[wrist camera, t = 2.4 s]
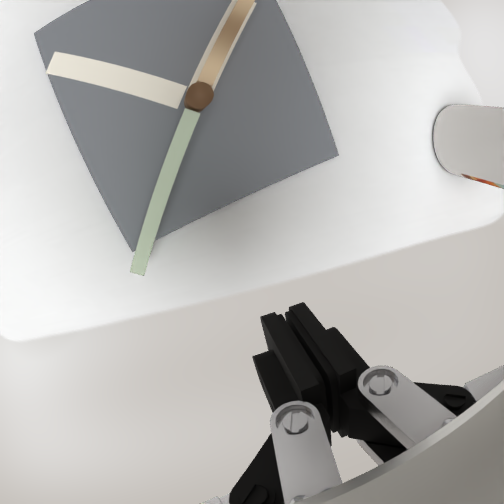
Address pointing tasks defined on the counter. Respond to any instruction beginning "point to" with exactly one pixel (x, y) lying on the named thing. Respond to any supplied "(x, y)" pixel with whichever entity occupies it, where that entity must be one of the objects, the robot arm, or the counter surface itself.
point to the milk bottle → (471, 142)
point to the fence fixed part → (216, 59)
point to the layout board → (182, 103)
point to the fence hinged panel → (163, 190)
